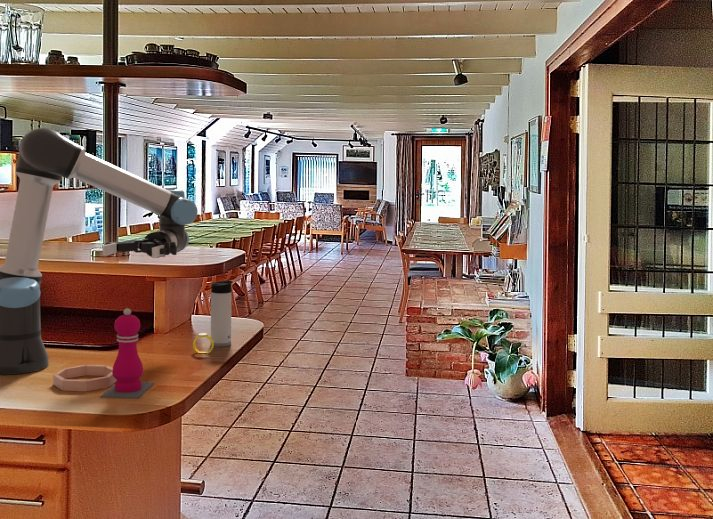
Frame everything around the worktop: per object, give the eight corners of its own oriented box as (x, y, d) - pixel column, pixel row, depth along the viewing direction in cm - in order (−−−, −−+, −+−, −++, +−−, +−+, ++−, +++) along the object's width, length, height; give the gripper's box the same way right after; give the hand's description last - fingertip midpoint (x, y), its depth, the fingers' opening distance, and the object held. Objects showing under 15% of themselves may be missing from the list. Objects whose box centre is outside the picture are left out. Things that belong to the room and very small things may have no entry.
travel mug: (234, 345, 218) (235, 282, 216) (214, 347, 215) (214, 283, 212) (228, 341, 224) (228, 279, 221) (208, 343, 220) (208, 280, 218)
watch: (192, 355, 207) (191, 335, 206) (195, 352, 210) (193, 333, 209) (212, 354, 207) (211, 334, 206) (215, 352, 210) (213, 332, 209)
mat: (100, 397, 166) (100, 395, 166) (118, 382, 178) (118, 380, 178) (138, 398, 166) (138, 397, 166) (154, 383, 178) (154, 382, 178)
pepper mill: (126, 382, 176) (125, 304, 174) (149, 386, 174) (149, 307, 171) (106, 390, 170) (104, 309, 167) (130, 394, 167) (129, 312, 165)
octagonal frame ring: (45, 389, 170) (45, 379, 170) (70, 373, 184) (70, 364, 184) (102, 391, 170) (102, 381, 170) (123, 375, 184) (123, 366, 184)
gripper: (200, 258, 206) (174, 267, 185) (119, 254, 208) (84, 263, 187) (200, 232, 205) (174, 239, 184) (119, 229, 207) (83, 235, 187)
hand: (128, 251), depth 186 cm, fingers open, 13 cm apart
